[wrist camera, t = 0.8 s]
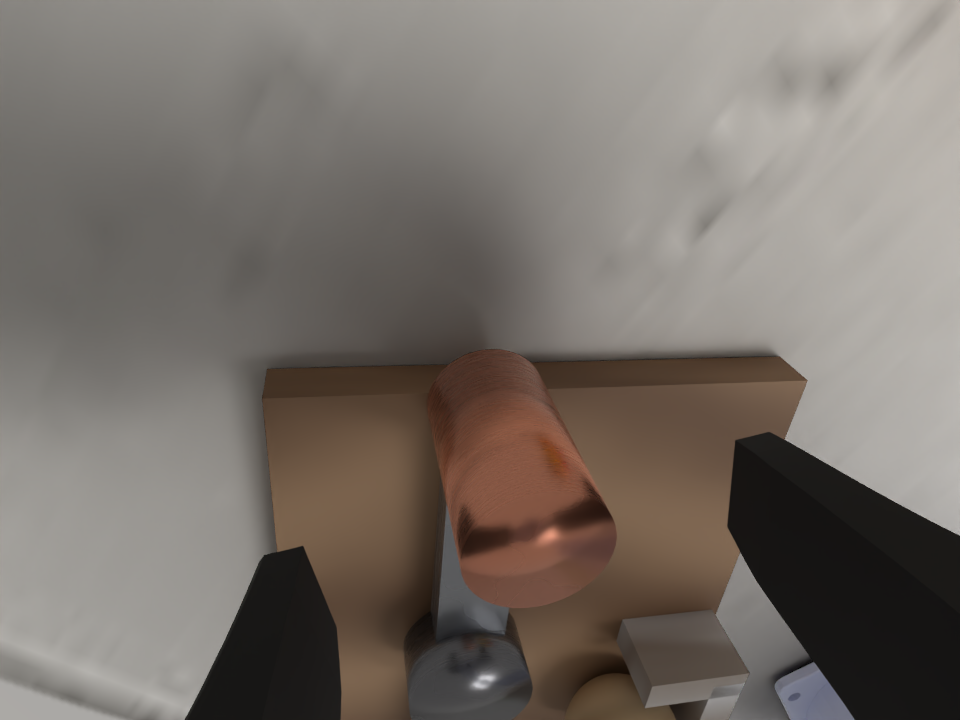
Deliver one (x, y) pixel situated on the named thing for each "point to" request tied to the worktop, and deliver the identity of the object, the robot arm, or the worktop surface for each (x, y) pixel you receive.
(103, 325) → the worktop surface
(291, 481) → the nutcracker base
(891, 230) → the worktop surface
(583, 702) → the tan ball
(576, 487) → the lever
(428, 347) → the worktop surface
